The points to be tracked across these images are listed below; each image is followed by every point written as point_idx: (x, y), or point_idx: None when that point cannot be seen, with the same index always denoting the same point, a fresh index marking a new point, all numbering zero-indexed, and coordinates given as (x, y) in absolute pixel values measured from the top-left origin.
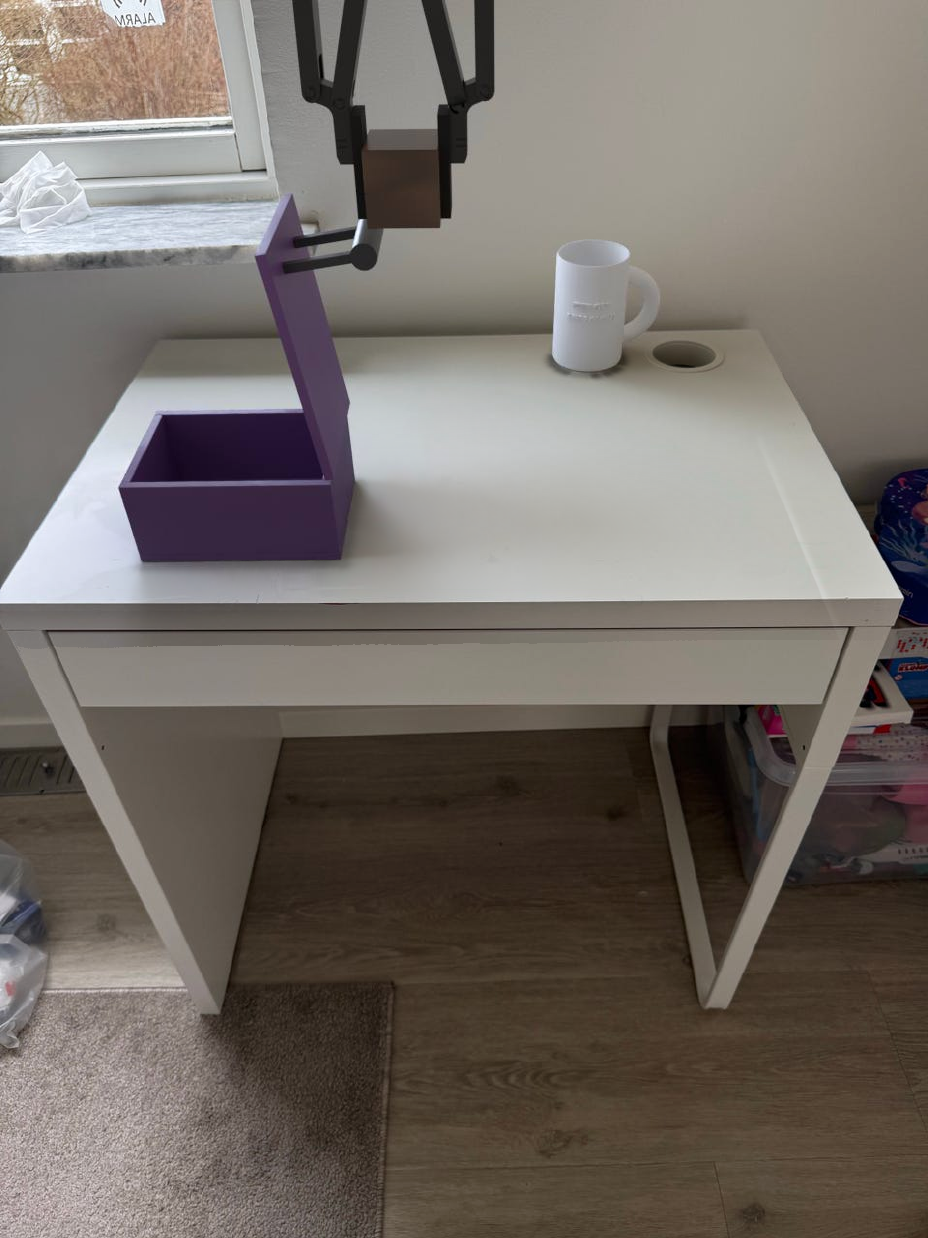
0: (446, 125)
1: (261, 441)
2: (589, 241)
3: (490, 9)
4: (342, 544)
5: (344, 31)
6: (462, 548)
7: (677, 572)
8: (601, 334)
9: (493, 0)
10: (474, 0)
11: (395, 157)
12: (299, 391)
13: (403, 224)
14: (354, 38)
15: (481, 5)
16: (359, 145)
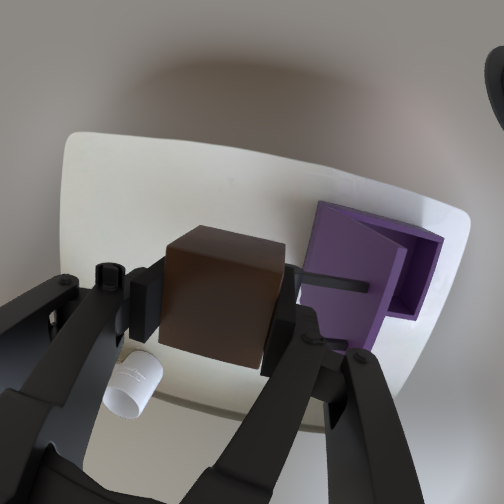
0: (140, 276)
1: None
2: (122, 416)
3: None
4: (316, 211)
5: (290, 417)
6: (246, 194)
7: (139, 153)
8: (131, 362)
9: None
10: None
11: (232, 257)
12: (351, 218)
13: (241, 234)
14: (266, 404)
15: None
16: (283, 299)
